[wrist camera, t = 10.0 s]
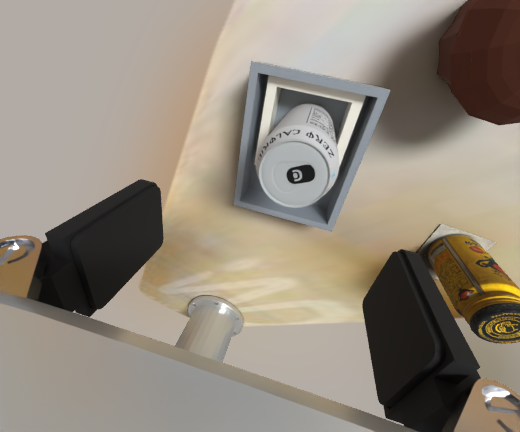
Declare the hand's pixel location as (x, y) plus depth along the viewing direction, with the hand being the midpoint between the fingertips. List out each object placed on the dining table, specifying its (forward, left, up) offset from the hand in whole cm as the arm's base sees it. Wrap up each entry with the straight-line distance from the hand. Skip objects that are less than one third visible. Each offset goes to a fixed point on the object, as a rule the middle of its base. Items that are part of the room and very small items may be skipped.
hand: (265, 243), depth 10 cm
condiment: (-12, -24, -24) cm, 36 cm away
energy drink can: (0, 0, -23) cm, 23 cm away
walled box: (-2, 0, -24) cm, 24 cm away
